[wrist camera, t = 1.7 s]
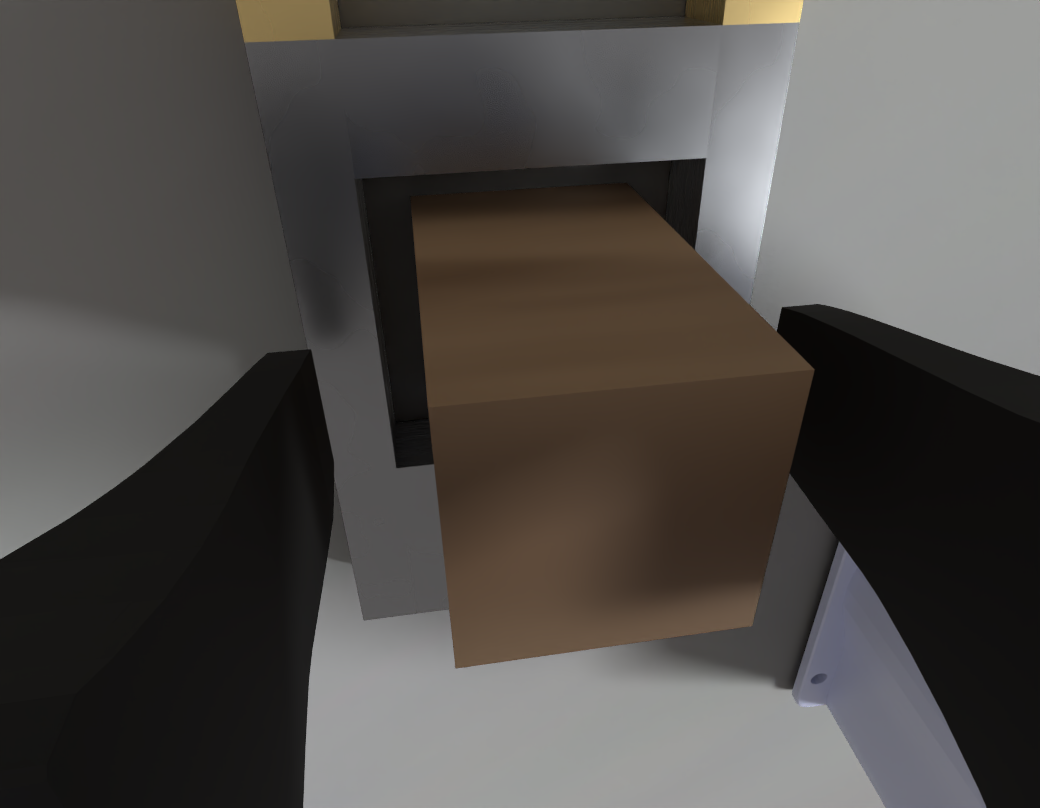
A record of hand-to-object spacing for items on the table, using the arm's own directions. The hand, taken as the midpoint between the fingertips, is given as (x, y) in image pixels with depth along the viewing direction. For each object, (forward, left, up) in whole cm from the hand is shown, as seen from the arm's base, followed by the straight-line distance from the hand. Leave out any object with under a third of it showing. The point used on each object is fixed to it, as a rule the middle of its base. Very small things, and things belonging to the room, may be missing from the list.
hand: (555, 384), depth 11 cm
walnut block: (0, 0, -4) cm, 4 cm away
